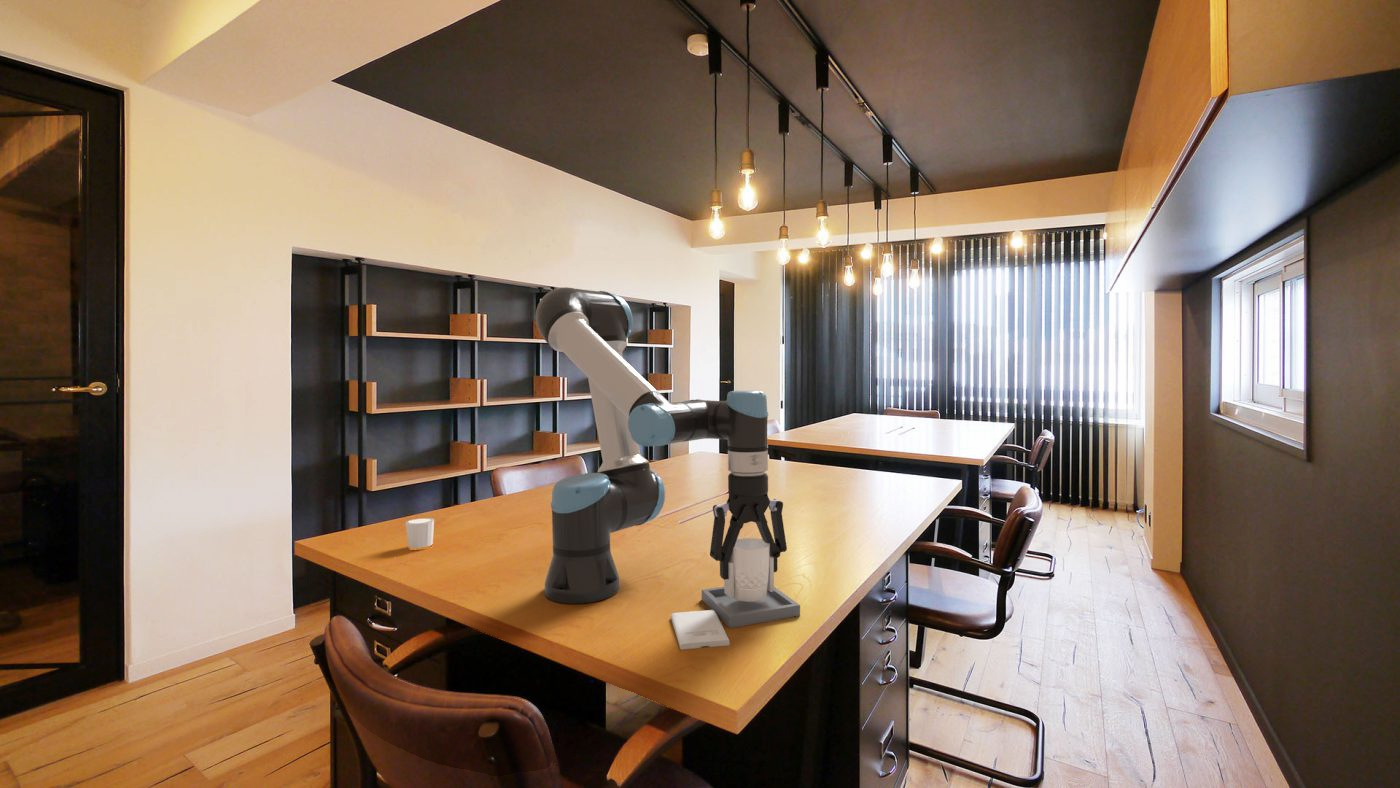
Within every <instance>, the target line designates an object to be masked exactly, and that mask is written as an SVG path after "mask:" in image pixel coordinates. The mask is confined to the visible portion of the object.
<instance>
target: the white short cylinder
mask: <svg viewBox="0 0 1400 788" xmlns="http://www.w3.org/2000/svg"><path fill="white" fill-rule="evenodd" d="M434 527H435V518H432V517H420V518H413V519H410V520H407V521H405V531H406V536H407V537H406V538H407V544H408V548H409V547H411V548H421V547H427V546H430V545H432V544H433V543H434V530H435V529H434Z"/></svg>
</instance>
